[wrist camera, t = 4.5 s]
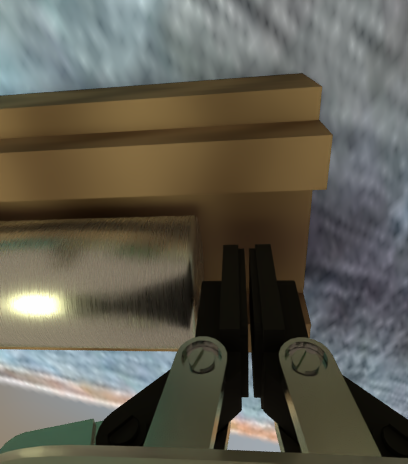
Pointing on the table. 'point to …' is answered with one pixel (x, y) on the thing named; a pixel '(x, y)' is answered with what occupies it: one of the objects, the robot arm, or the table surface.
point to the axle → (100, 282)
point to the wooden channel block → (175, 163)
